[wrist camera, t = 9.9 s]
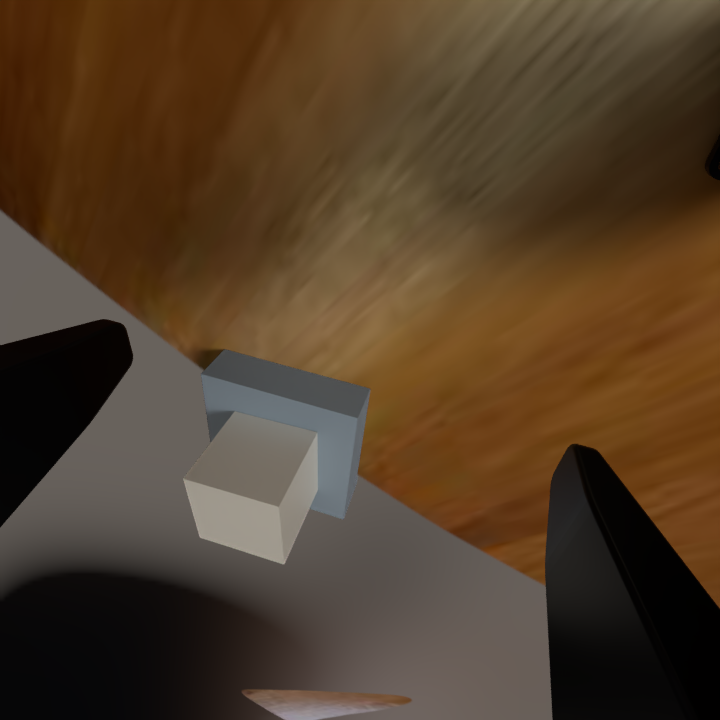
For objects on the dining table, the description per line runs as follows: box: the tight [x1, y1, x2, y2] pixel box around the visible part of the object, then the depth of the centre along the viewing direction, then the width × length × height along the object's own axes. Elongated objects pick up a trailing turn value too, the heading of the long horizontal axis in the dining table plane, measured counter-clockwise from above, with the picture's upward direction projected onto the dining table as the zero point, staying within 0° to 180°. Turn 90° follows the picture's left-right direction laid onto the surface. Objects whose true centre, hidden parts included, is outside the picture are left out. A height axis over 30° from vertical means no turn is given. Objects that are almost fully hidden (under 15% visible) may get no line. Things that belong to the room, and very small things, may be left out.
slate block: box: [201, 349, 370, 519], centre depth 28 cm, size 9×9×3 cm
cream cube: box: [183, 411, 318, 564], centre depth 25 cm, size 5×5×5 cm
